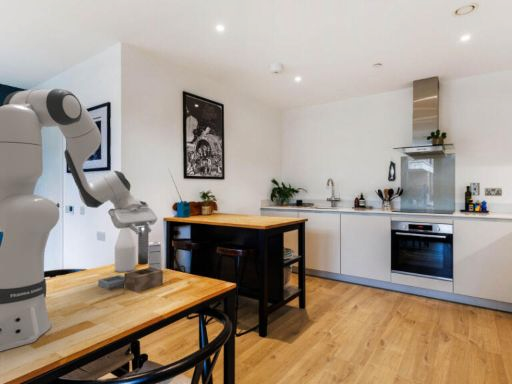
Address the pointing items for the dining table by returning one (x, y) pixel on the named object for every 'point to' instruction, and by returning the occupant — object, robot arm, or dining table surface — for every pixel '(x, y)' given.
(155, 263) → the syrup box
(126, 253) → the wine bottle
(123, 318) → the dining table surface
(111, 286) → the slate tray
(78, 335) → the dining table surface
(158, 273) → the walnut hollow rectangular frame
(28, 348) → the dining table surface
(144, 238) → the steel axle
